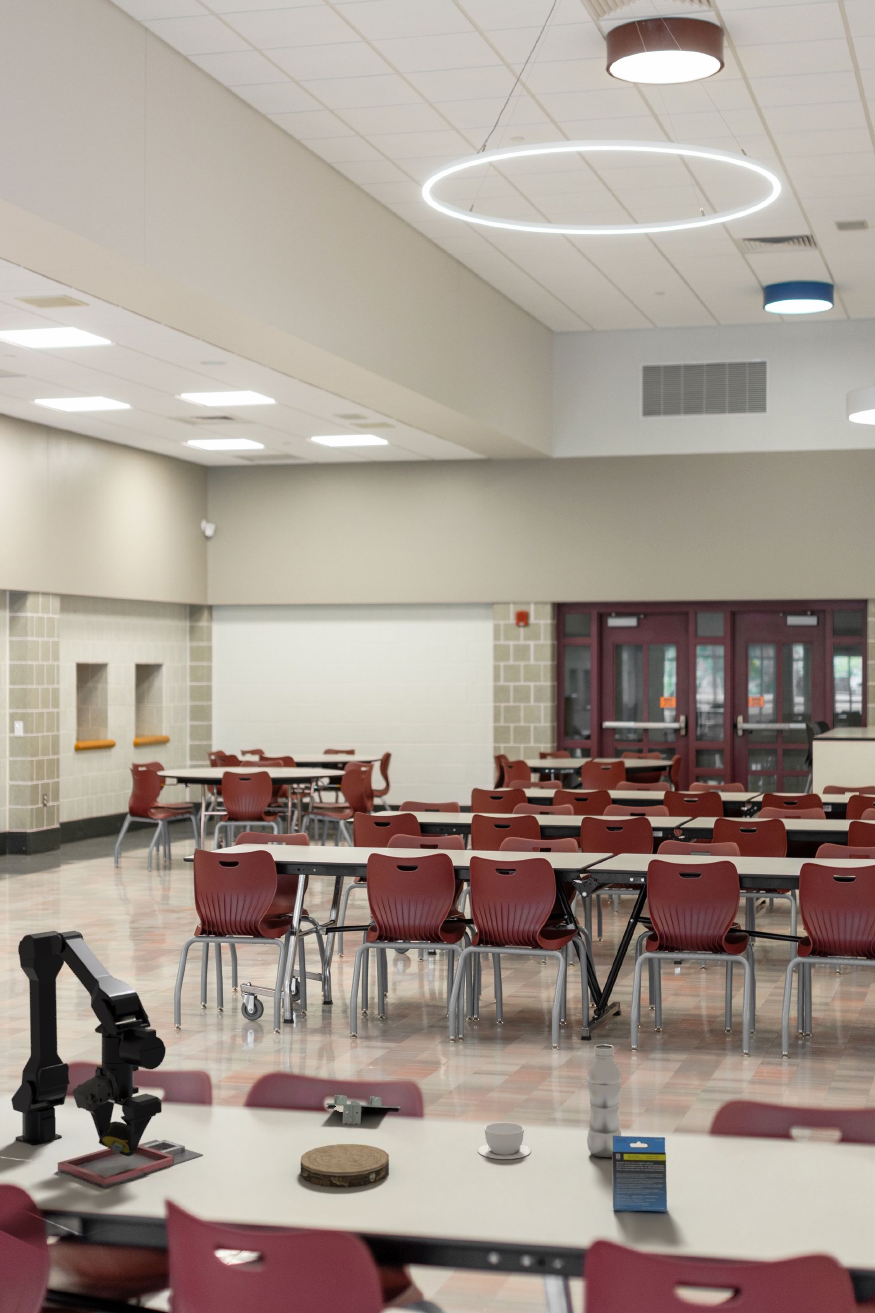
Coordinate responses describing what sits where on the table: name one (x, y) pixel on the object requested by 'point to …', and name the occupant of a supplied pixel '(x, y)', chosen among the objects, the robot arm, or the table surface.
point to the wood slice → (344, 1165)
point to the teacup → (504, 1141)
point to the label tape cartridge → (639, 1174)
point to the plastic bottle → (603, 1101)
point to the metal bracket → (355, 1108)
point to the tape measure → (116, 1138)
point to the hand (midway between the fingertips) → (117, 1146)
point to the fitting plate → (125, 1163)
